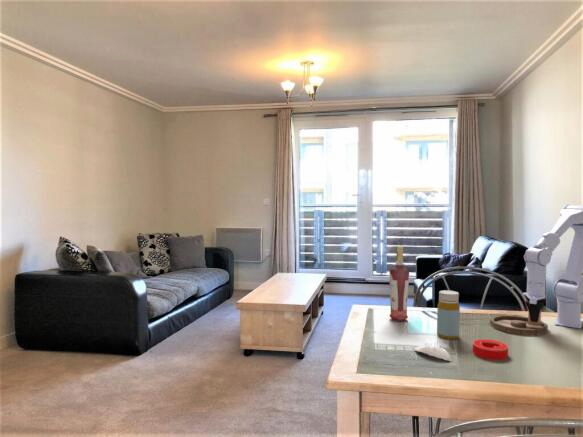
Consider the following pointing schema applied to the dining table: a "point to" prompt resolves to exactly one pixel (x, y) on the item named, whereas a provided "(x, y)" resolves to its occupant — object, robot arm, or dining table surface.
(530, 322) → the bead
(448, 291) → the bottle
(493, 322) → the groove tray
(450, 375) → the dining table surface
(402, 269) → the liquor
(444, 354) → the pincushion
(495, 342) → the decorative ornament
